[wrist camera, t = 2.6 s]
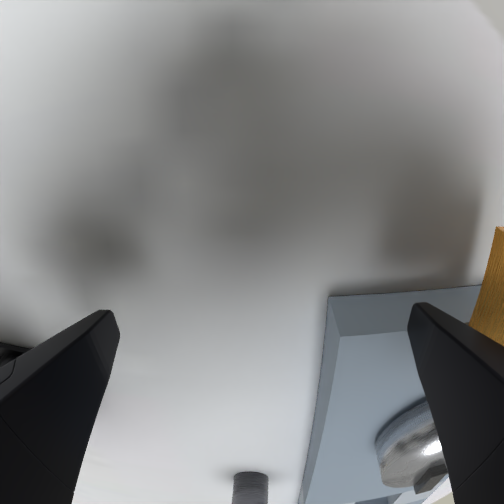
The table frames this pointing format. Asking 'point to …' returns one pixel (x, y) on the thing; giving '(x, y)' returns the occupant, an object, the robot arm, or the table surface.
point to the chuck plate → (368, 392)
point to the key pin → (250, 488)
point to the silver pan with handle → (420, 418)
